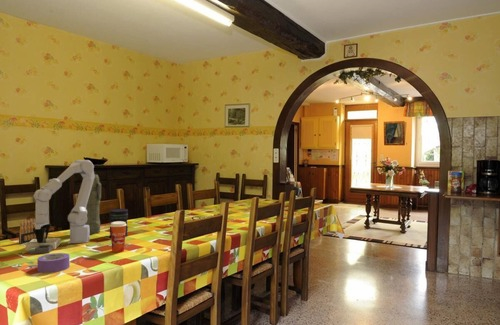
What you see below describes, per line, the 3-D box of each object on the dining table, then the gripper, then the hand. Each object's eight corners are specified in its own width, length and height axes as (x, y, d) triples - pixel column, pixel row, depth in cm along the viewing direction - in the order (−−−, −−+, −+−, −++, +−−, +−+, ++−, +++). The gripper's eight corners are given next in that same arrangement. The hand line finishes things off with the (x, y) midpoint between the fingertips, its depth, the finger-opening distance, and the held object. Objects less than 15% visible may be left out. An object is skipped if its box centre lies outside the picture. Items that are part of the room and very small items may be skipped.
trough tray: (60, 243, 188) (60, 238, 188) (55, 249, 178) (55, 243, 178) (32, 245, 185) (32, 239, 185) (25, 250, 175) (25, 244, 175)
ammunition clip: (21, 244, 186) (21, 221, 186) (18, 243, 187) (18, 220, 187) (40, 239, 196) (40, 217, 196) (37, 239, 197) (37, 217, 197)
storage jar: (105, 236, 205) (105, 210, 205) (118, 233, 214) (118, 208, 214) (119, 238, 202) (119, 212, 201) (131, 234, 211) (131, 209, 210)
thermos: (96, 234, 209) (96, 174, 208) (78, 233, 211) (78, 174, 210) (105, 231, 218) (105, 174, 217) (88, 230, 220) (88, 173, 219)
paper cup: (110, 253, 172) (110, 224, 171) (108, 249, 178) (109, 221, 178) (127, 251, 175) (128, 223, 175) (125, 248, 182) (125, 220, 182)
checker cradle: (52, 249, 177) (52, 244, 177) (48, 252, 171) (48, 247, 171) (32, 250, 175) (32, 245, 175) (27, 253, 169) (27, 248, 169)
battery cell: (46, 245, 181) (46, 230, 181) (44, 246, 178) (44, 231, 178) (39, 245, 180) (39, 230, 180) (37, 247, 177) (37, 231, 177)
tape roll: (31, 269, 148) (31, 257, 148) (59, 262, 158) (59, 251, 158) (47, 275, 142) (47, 262, 142) (75, 267, 152) (75, 255, 152)
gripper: (37, 211, 185) (38, 237, 185) (28, 216, 171) (28, 244, 171) (53, 211, 186) (53, 236, 187) (44, 215, 172) (44, 244, 173)
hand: (42, 240), depth 179 cm, fingers open, 6 cm apart
